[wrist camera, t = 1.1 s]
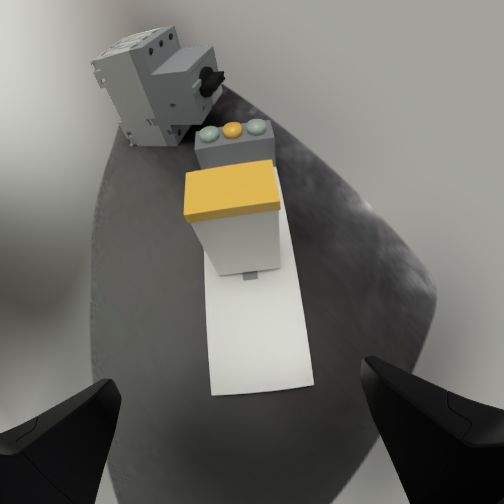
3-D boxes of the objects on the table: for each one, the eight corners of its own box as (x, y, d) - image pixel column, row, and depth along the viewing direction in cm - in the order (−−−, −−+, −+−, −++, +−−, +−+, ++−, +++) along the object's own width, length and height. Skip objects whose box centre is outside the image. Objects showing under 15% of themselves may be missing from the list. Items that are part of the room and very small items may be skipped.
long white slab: (311, 384, 20) (323, 385, 14) (216, 394, 20) (192, 397, 14) (272, 157, 31) (269, 113, 25) (207, 167, 31) (194, 125, 25)
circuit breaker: (221, 148, 32) (193, 38, 19) (130, 146, 35) (88, 62, 22) (238, 114, 35) (221, 18, 22) (154, 115, 38) (123, 37, 25)
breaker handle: (281, 268, 22) (280, 201, 14) (217, 276, 22) (183, 215, 15) (276, 234, 24) (271, 159, 16) (216, 242, 24) (186, 172, 16)
